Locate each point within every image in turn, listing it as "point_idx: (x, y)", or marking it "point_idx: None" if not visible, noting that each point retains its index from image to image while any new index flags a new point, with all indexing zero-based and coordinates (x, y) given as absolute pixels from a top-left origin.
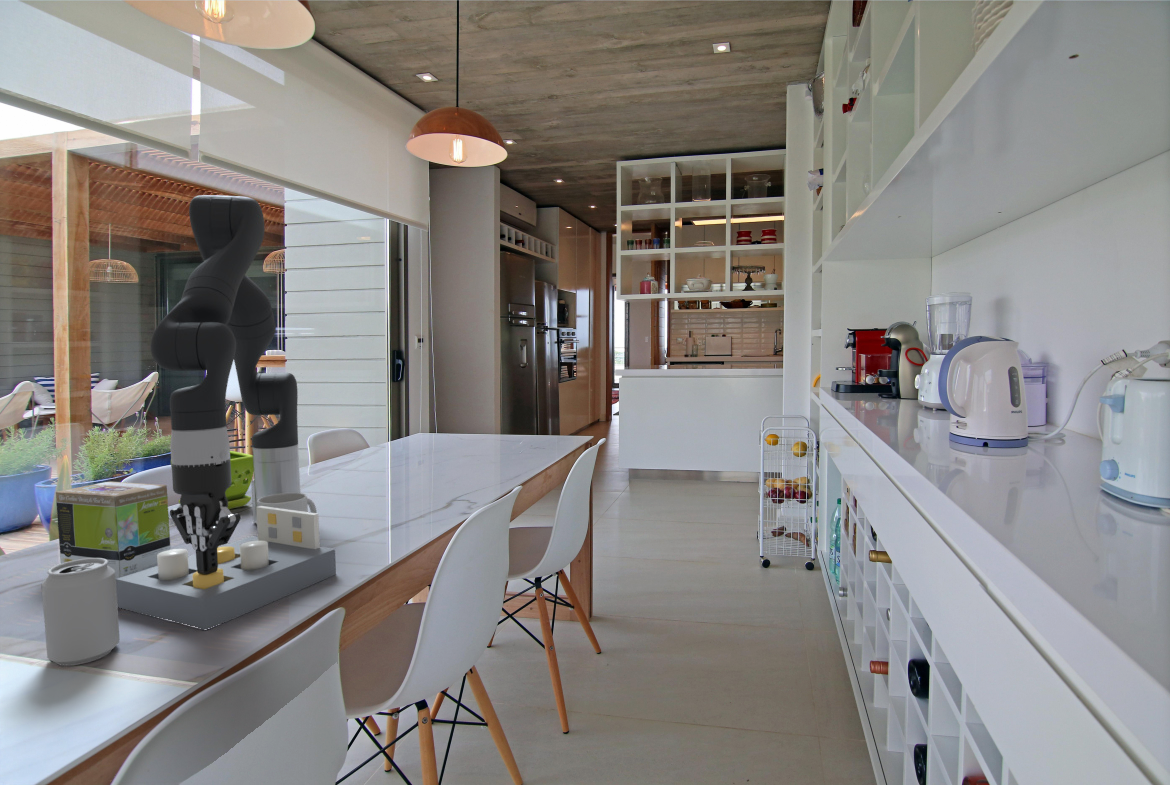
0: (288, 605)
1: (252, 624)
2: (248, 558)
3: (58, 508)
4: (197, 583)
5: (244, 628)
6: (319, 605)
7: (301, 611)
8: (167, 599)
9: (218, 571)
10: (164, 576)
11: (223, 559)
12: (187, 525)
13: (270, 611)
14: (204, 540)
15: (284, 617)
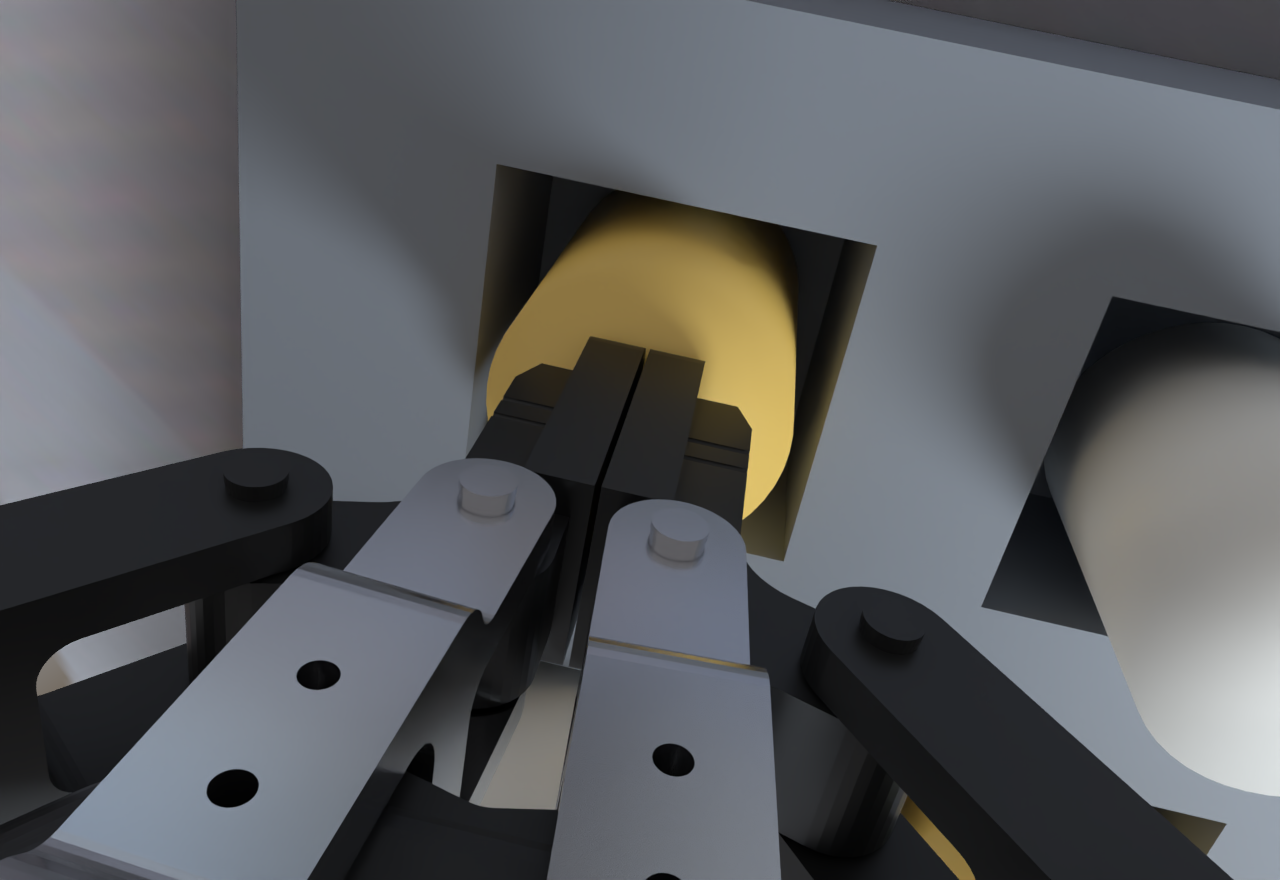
0: (197, 450)
1: (140, 107)
2: (507, 762)
3: None
4: (649, 248)
5: (129, 25)
6: (11, 479)
7: (29, 376)
8: (885, 17)
9: None
10: (1240, 379)
11: (933, 839)
12: (738, 793)
13: (224, 341)
14: (374, 546)
15: (42, 267)
